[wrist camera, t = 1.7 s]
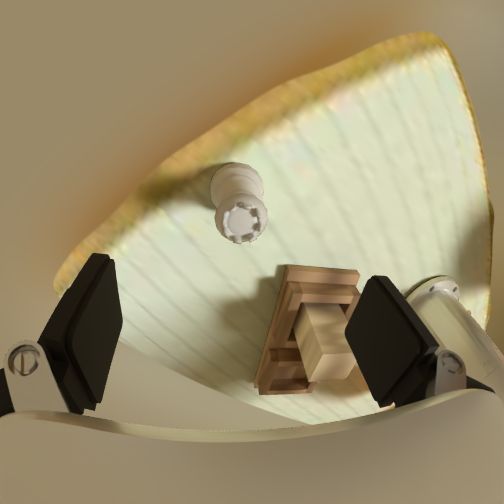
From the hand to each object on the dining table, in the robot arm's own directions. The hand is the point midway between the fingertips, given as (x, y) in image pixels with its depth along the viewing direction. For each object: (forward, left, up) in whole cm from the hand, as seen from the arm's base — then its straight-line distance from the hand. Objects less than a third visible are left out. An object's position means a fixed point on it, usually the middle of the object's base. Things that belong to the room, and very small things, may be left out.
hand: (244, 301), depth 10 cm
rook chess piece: (0, 0, -15) cm, 15 cm away
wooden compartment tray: (-10, +17, -15) cm, 25 cm away
